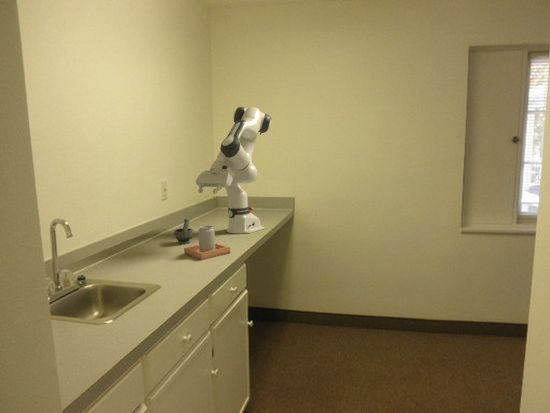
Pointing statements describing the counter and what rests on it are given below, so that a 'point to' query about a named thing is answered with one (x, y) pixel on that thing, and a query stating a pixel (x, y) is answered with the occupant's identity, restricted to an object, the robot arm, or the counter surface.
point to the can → (206, 238)
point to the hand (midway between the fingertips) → (207, 192)
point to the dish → (198, 254)
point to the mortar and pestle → (184, 233)
